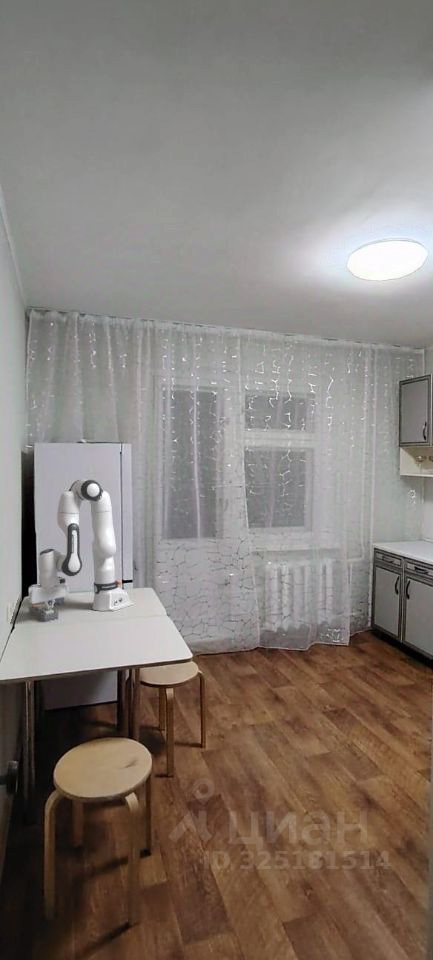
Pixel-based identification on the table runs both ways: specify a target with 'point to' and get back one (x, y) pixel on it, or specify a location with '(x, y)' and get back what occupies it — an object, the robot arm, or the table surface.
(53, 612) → the sage key
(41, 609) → the light grey square block
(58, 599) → the medicine box
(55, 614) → the grey compartment tray
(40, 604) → the terracotta key
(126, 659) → the table surface
